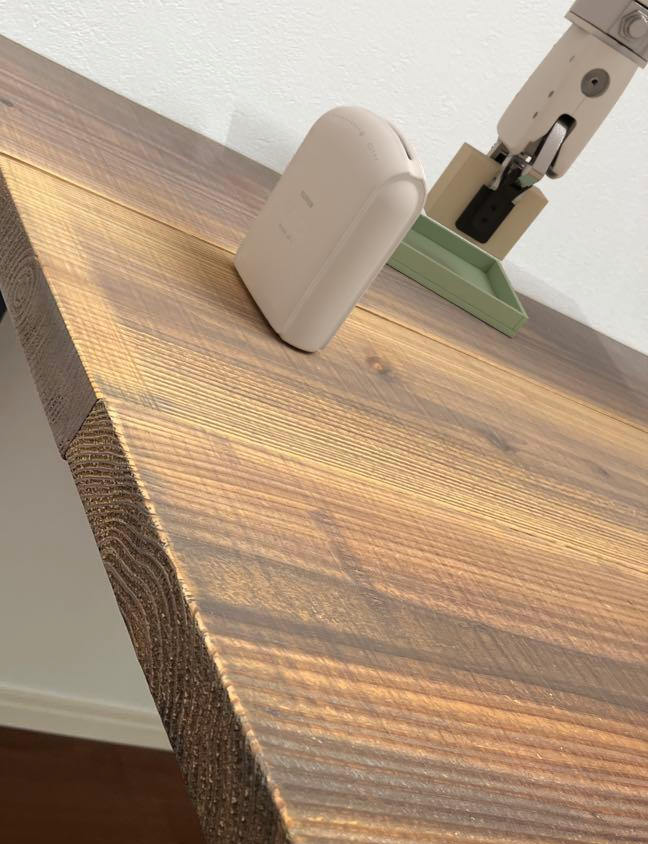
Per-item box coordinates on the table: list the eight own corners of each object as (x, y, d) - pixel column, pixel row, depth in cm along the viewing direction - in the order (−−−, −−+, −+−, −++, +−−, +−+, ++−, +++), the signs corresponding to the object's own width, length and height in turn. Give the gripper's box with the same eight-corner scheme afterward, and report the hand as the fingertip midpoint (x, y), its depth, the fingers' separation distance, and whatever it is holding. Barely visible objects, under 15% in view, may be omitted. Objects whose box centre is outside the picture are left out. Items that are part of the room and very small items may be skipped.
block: (421, 202, 93) (464, 141, 89) (494, 247, 94) (539, 188, 91) (426, 215, 89) (471, 152, 86) (501, 261, 91) (549, 201, 87)
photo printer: (221, 255, 67) (331, 75, 61) (273, 277, 69) (385, 105, 63) (271, 342, 60) (401, 148, 53) (327, 363, 62) (460, 179, 55)
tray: (485, 279, 101) (499, 261, 100) (512, 338, 89) (529, 318, 87) (364, 206, 99) (378, 187, 98) (375, 257, 87) (390, 235, 85)
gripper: (687, 69, 75) (516, 280, 85) (626, 35, 89) (485, 220, 99) (604, 13, 74) (440, 234, 84) (555, -12, 88) (419, 180, 98)
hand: (466, 225), depth 91 cm, fingers closed on block, 4 cm apart
